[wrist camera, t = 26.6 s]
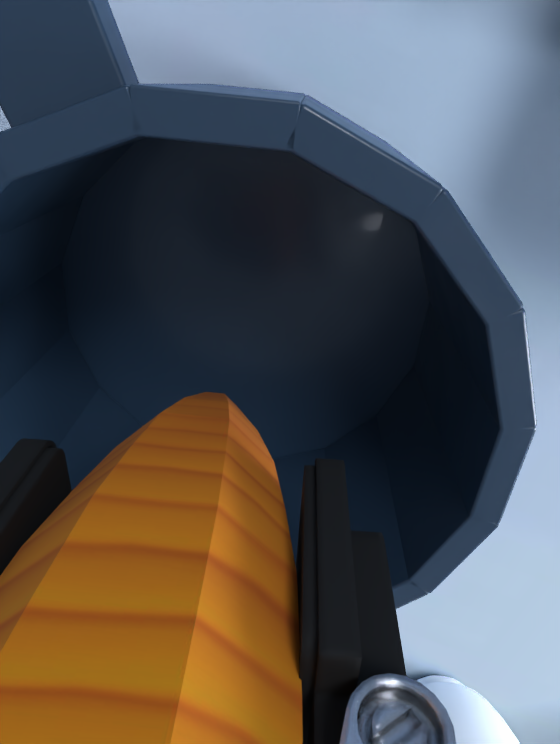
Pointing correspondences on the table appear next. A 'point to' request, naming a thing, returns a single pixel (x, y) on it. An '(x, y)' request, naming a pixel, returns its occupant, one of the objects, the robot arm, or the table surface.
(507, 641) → the table surface
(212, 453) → the carrot
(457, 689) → the white egg-shaped bulb
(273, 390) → the saucepan
